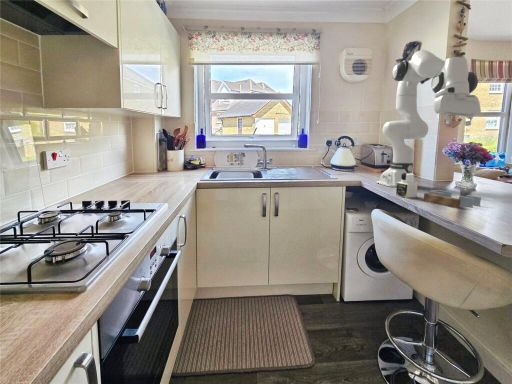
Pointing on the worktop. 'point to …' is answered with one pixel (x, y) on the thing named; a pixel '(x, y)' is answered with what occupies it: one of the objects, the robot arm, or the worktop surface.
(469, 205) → the cap open
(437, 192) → the cap closed
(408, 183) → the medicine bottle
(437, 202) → the slat
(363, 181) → the worktop surface
